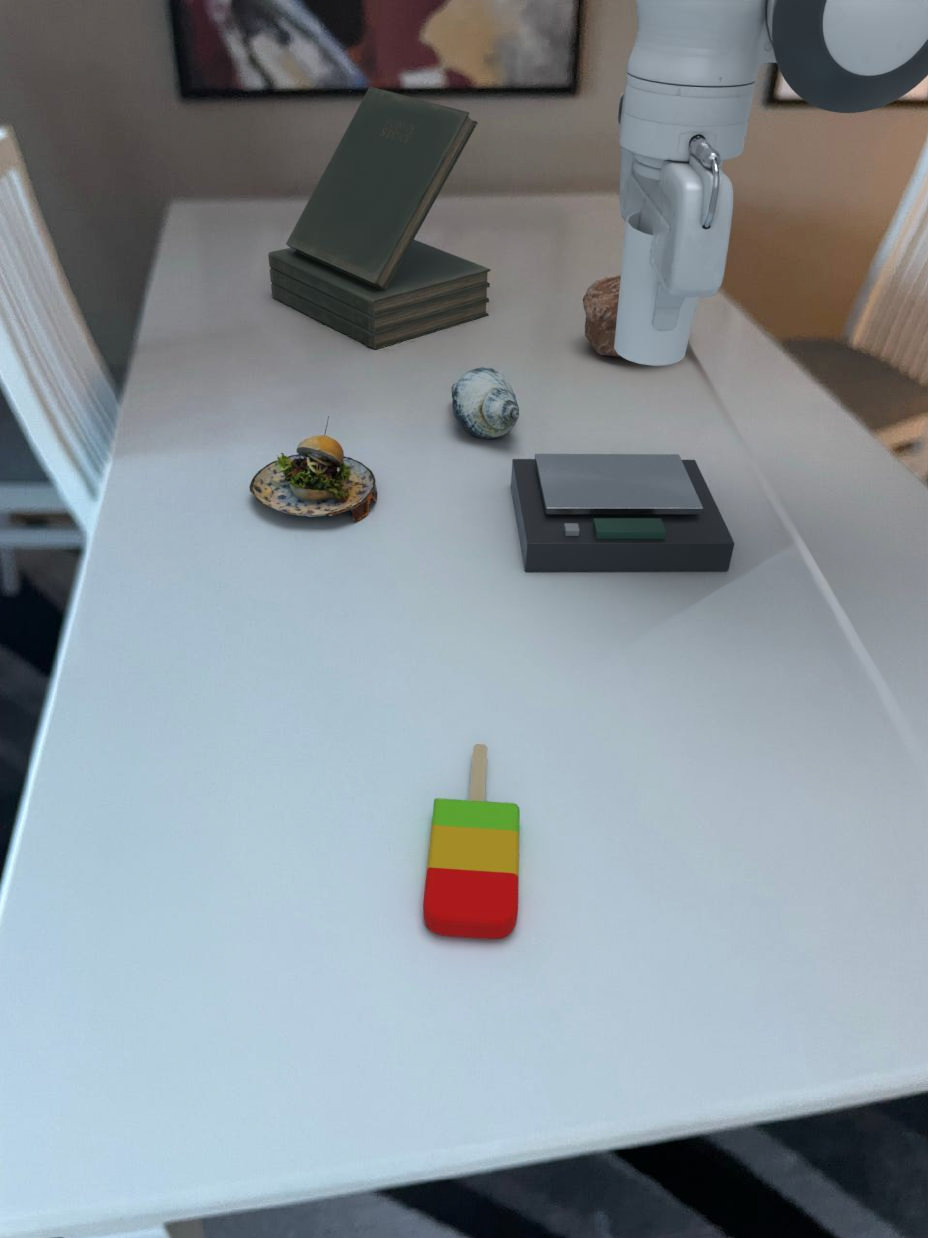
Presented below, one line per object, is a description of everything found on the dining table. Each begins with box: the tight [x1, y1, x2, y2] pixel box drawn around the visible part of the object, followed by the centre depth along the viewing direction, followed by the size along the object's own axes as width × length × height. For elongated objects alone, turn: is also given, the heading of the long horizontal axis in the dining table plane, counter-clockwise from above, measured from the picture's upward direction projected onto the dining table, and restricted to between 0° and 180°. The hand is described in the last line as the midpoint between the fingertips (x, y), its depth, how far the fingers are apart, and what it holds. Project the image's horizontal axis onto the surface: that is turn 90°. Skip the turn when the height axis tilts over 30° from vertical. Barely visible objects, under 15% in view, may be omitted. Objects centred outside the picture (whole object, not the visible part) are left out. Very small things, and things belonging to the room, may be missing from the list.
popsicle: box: [422, 743, 521, 940], centre depth 63 cm, size 6×15×2 cm, turn 177°
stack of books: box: [267, 86, 491, 350], centre depth 129 cm, size 23×20×25 cm
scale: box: [510, 458, 736, 573], centre depth 92 cm, size 18×15×4 cm
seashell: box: [451, 367, 520, 440], centre depth 107 cm, size 6×8×12 cm
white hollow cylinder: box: [614, 211, 700, 367], centre depth 77 cm, size 7×7×10 cm
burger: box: [249, 415, 378, 523], centre depth 93 cm, size 12×12×8 cm
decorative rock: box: [582, 274, 626, 360], centre depth 123 cm, size 13×11×10 cm
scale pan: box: [533, 453, 703, 515], centre depth 92 cm, size 14×10×1 cm
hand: (655, 313), depth 79 cm, fingers closed on white hollow cylinder, 4 cm apart
